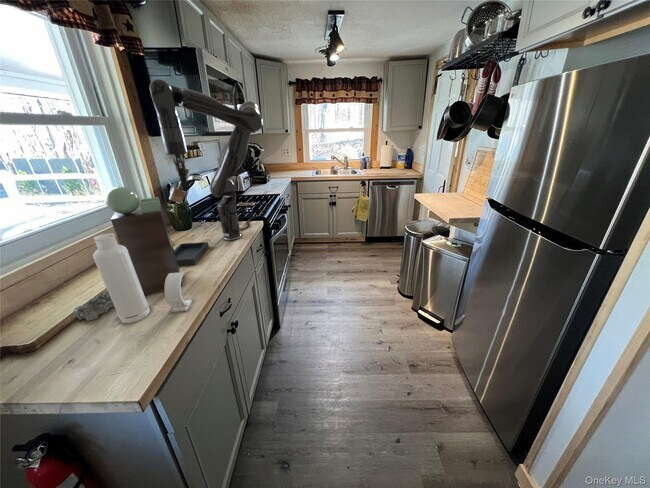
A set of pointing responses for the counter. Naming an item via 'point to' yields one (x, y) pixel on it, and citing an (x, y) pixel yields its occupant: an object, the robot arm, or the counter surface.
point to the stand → (147, 247)
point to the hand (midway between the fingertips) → (184, 186)
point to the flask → (130, 201)
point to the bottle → (120, 278)
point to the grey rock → (94, 307)
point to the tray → (190, 253)
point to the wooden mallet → (178, 192)
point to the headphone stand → (175, 292)
